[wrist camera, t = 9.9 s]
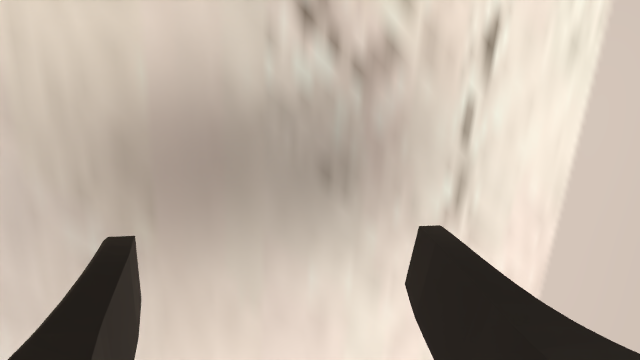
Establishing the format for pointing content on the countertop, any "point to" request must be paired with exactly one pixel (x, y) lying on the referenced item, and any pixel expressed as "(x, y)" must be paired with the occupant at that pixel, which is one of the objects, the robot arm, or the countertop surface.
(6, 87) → the countertop surface
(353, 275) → the countertop surface
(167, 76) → the countertop surface
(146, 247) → the countertop surface
